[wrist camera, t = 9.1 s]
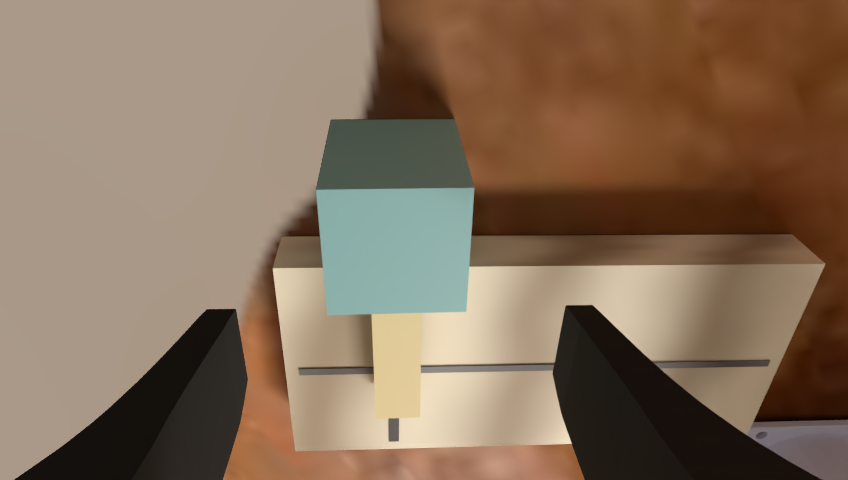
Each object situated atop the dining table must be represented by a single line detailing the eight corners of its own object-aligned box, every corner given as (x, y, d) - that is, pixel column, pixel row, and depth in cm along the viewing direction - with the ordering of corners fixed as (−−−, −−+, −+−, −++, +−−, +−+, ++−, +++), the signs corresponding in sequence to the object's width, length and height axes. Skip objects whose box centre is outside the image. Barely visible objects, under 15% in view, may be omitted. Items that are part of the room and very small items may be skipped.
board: (792, 234, 23) (826, 265, 21) (723, 403, 27) (746, 440, 25) (281, 236, 21) (272, 269, 20) (301, 413, 26) (295, 452, 24)
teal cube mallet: (454, 118, 19) (474, 187, 15) (444, 350, 25) (457, 449, 20) (331, 119, 19) (316, 189, 15) (347, 353, 24) (339, 454, 20)
